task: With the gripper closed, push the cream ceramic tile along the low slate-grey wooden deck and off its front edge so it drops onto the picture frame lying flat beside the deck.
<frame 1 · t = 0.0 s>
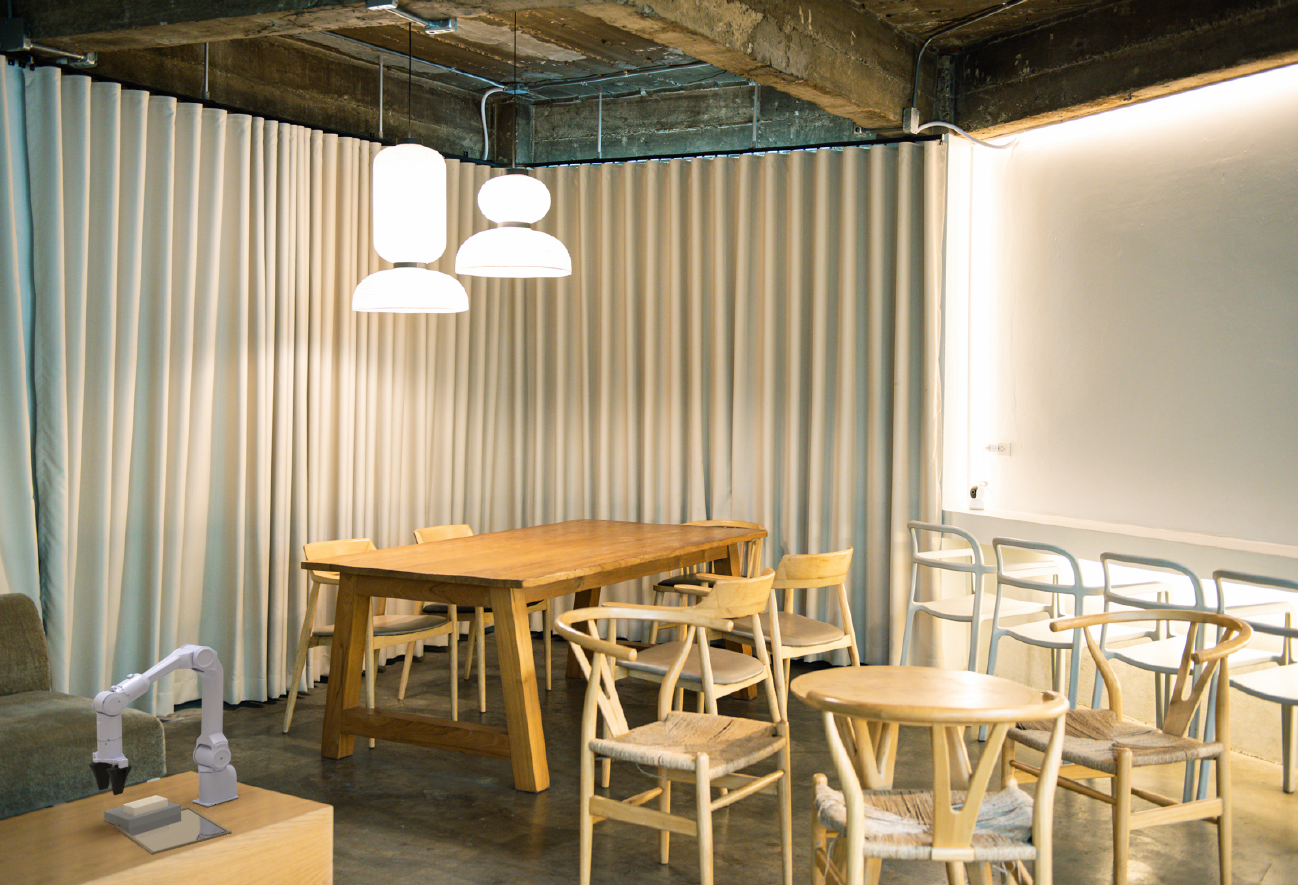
hand: (110, 791, 272), 10 cm above the table, tool pointing down, fingers open, 7 cm apart
deck: (142, 817, 282), on the table
tile: (145, 809, 281), point 2 cm above the table, touching deck
picture frame: (172, 832, 271), on the table
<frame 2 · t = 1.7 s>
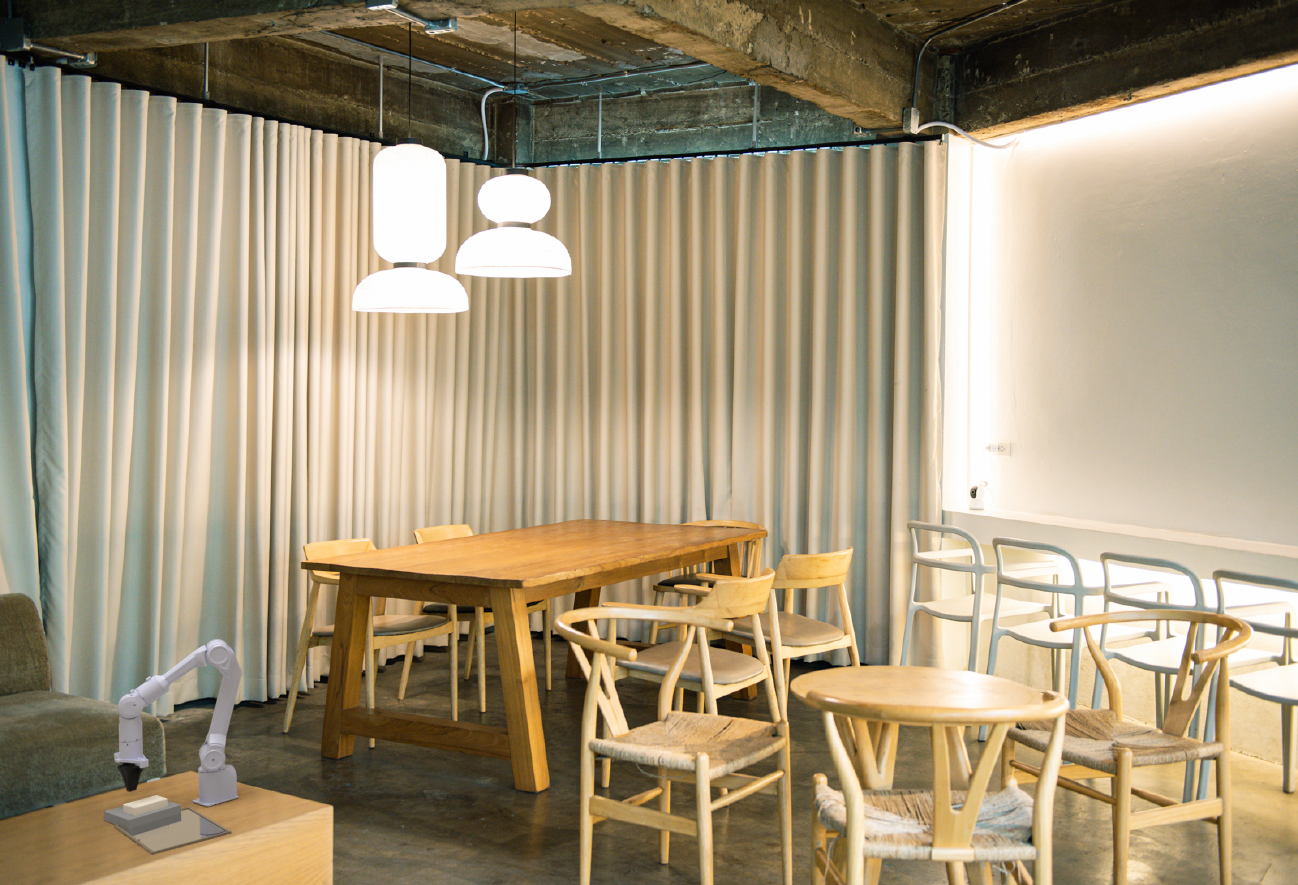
hand: (131, 790, 285), 6 cm above the table, tool pointing down, fingers closed
nothing on the table moved.
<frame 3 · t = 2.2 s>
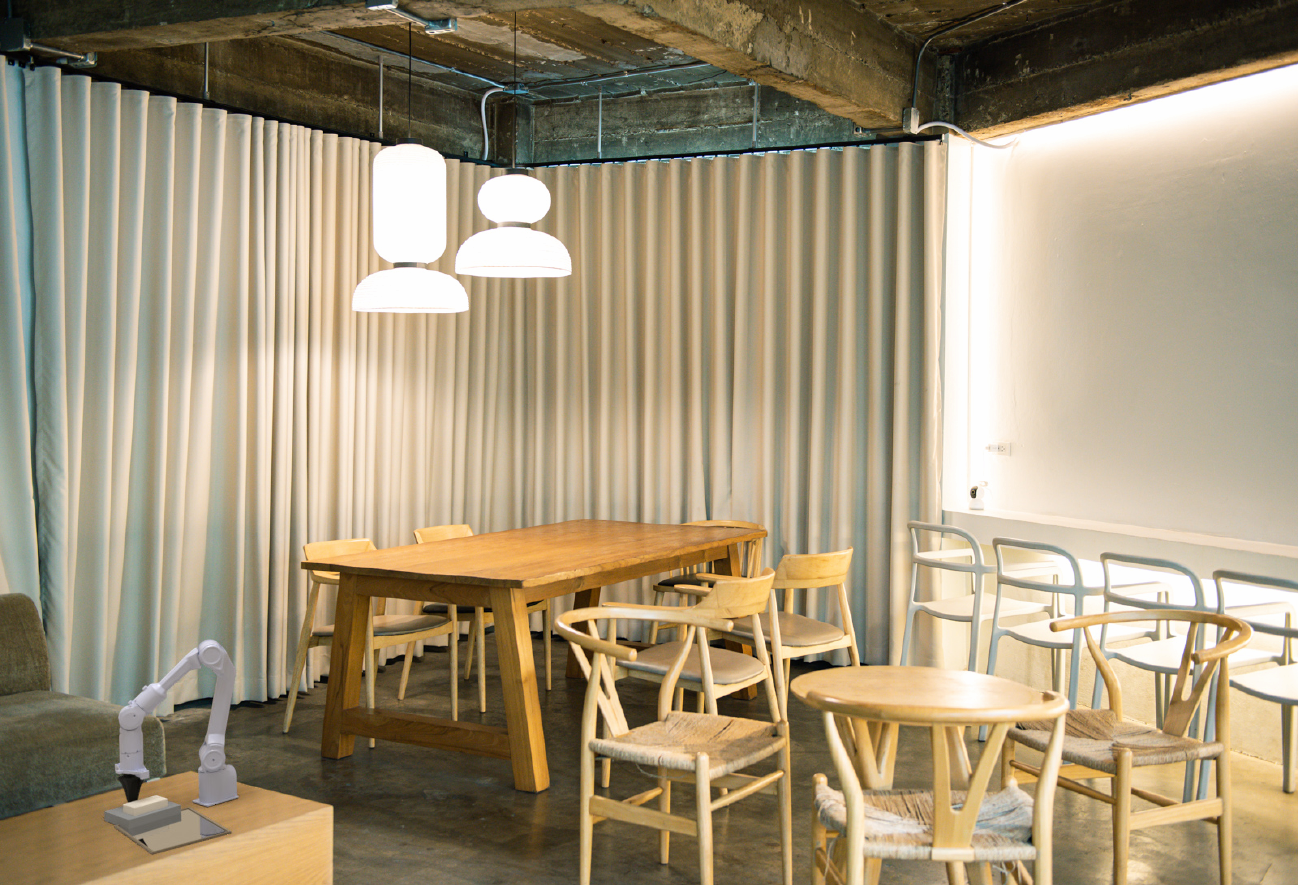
hand: (132, 801, 285), 3 cm above the table, tool pointing down, fingers closed
nothing on the table moved.
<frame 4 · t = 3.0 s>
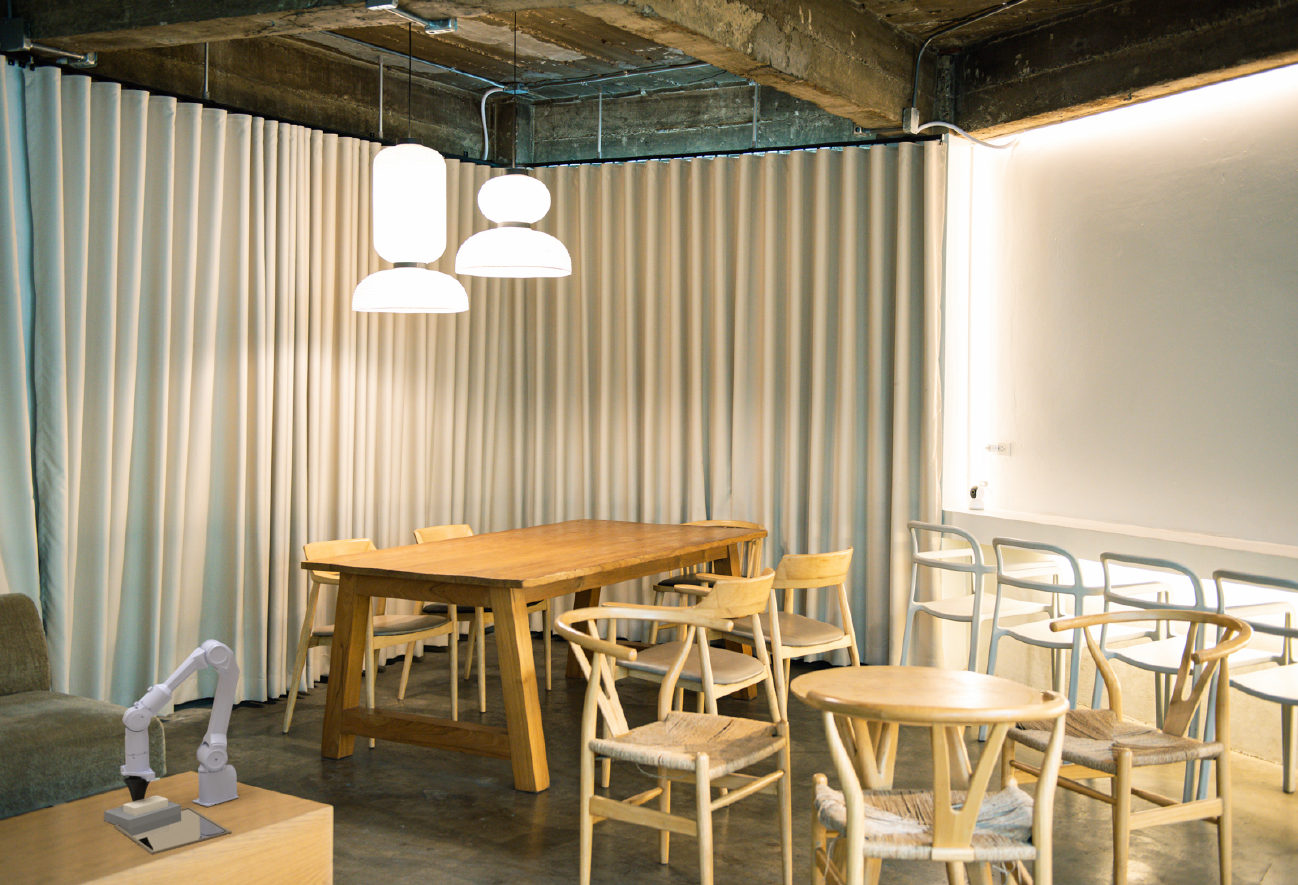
hand: (138, 803, 283), 3 cm above the table, tool pointing down, fingers closed
tile: (145, 809, 281), point 3 cm above the table, touching gripper
everything else where it was.
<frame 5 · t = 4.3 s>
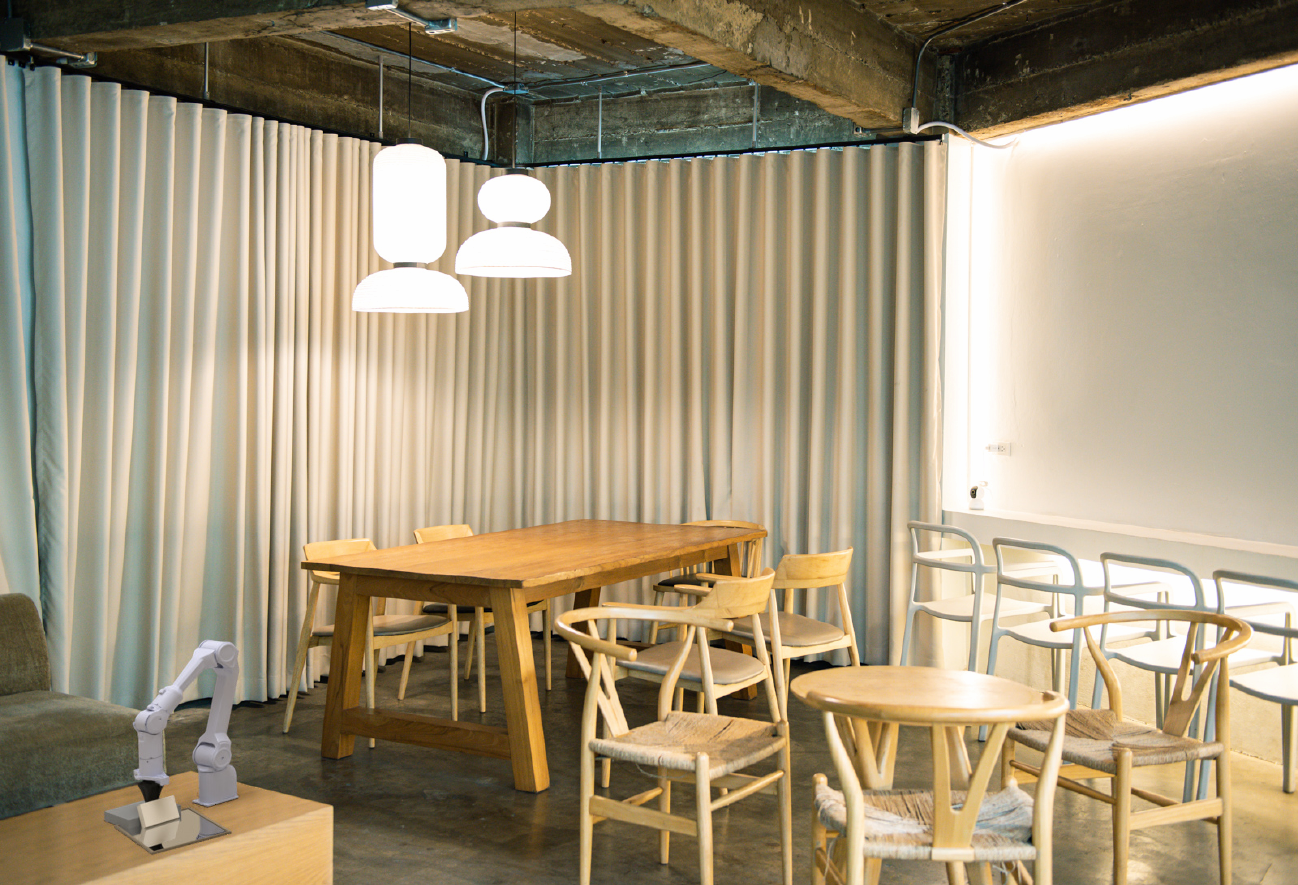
hand: (151, 808, 279), 3 cm above the table, tool pointing down, fingers closed
tile: (156, 812, 277), point 3 cm above the table, tilted 64°
everything else where it was.
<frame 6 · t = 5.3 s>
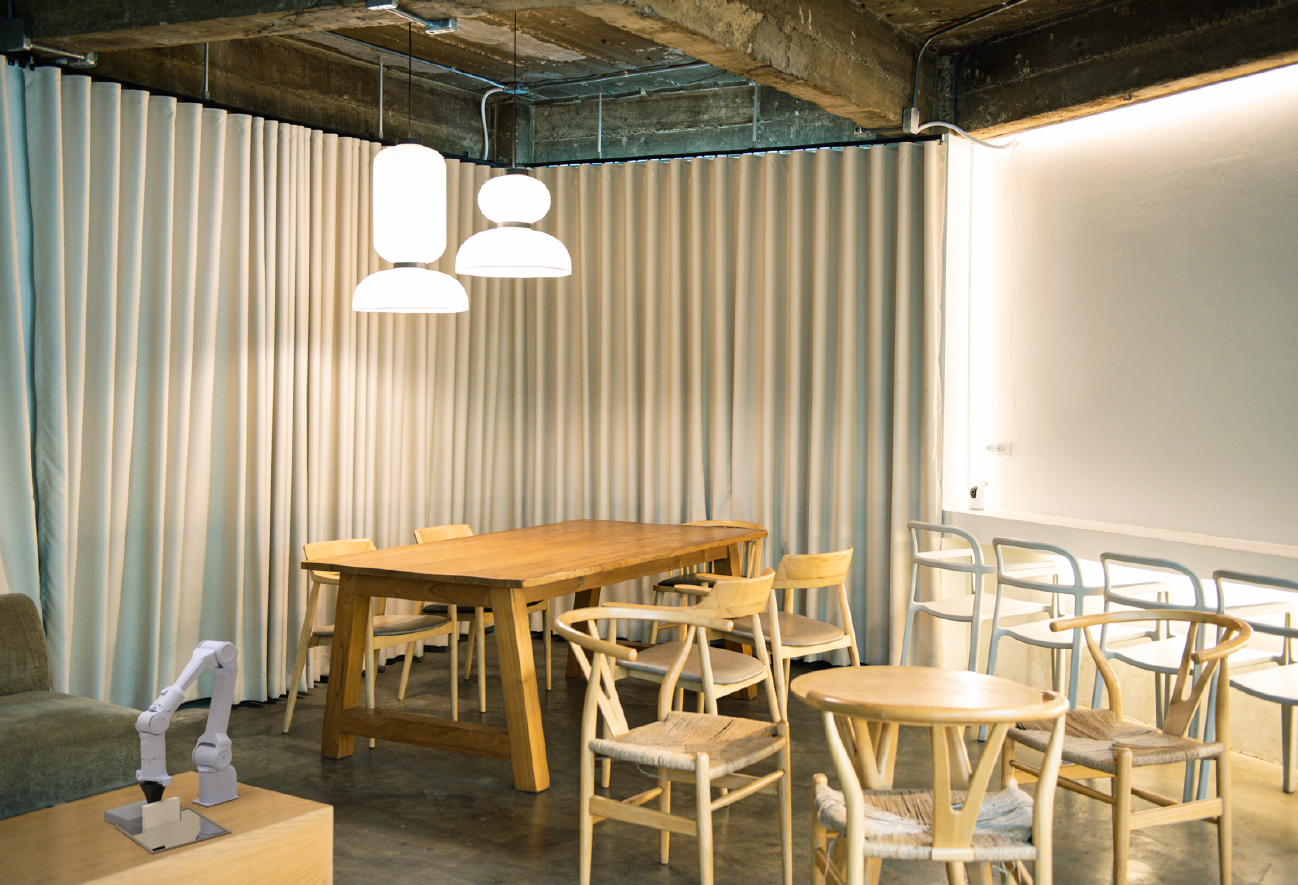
hand: (154, 809, 278), 3 cm above the table, tool pointing down, fingers closed
tile: (159, 812, 277), point 3 cm above the table, tilted 91°
everything else where it was.
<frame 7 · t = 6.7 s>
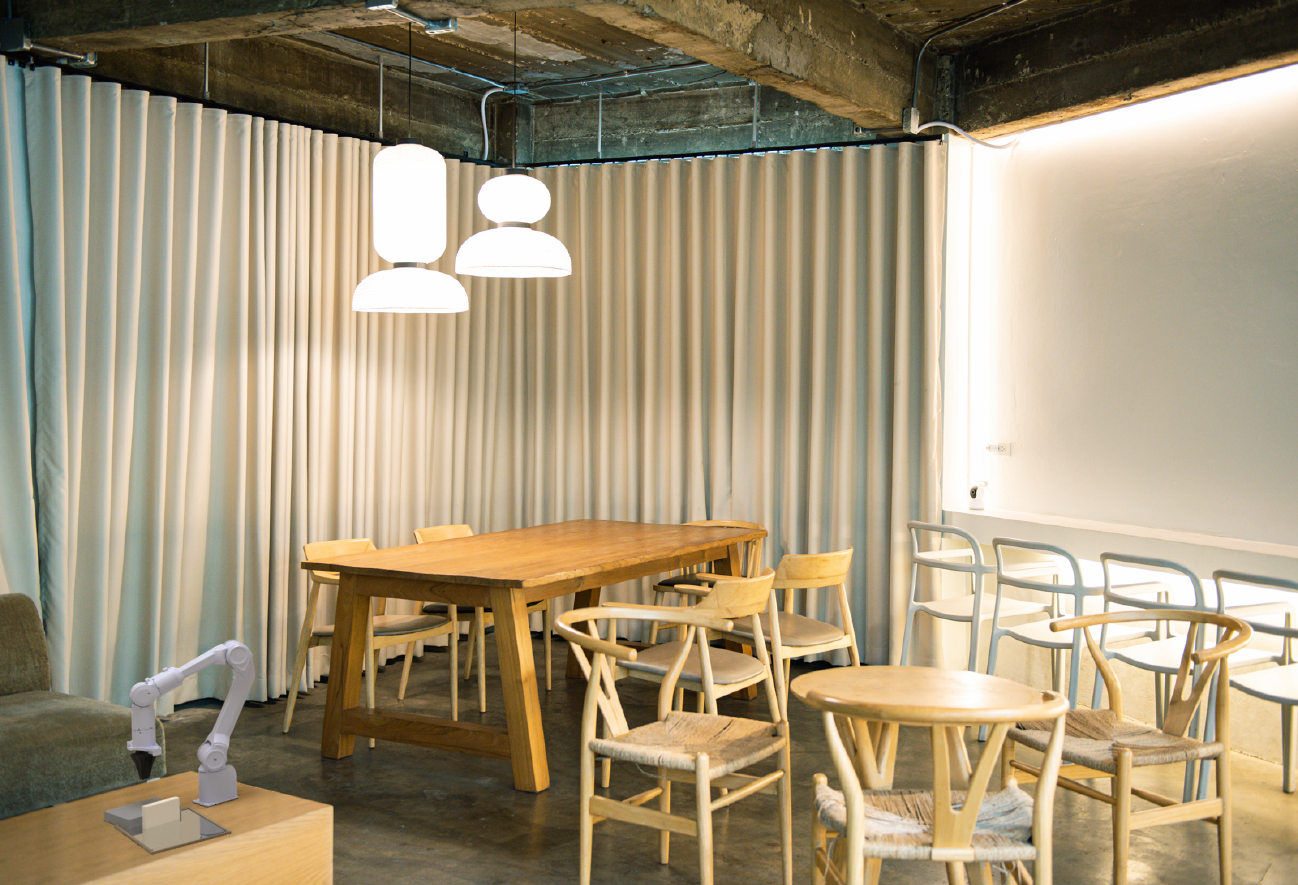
hand: (144, 778, 285), 9 cm above the table, tool pointing down, fingers closed
nothing on the table moved.
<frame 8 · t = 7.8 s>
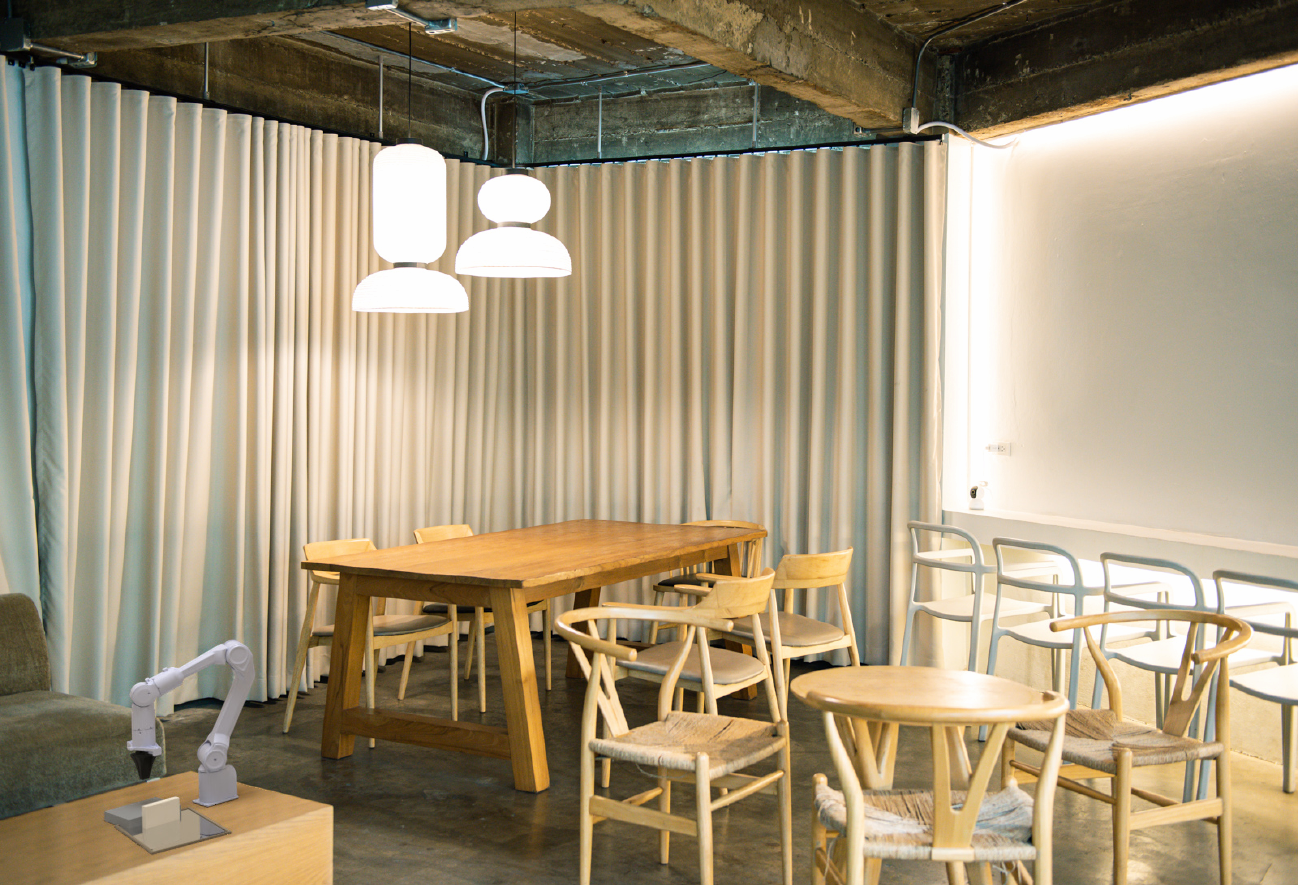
hand: (144, 778, 285), 9 cm above the table, tool pointing down, fingers closed
nothing on the table moved.
at the end: tile inside the target area on the picture frame (7.8 cm from its centre), point 3.5 cm above the picture frame's base; tile touching table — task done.
